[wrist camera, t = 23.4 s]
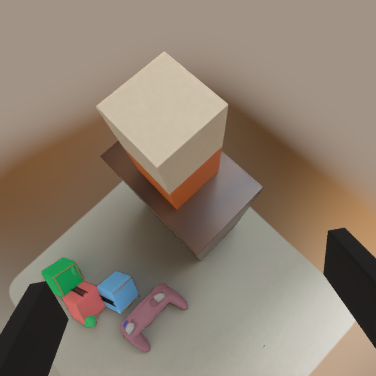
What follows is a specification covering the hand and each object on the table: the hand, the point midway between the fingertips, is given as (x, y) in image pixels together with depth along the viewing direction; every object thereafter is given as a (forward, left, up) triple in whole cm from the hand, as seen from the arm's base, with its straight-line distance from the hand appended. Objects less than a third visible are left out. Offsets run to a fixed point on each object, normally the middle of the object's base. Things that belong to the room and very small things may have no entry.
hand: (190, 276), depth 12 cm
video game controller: (+2, +10, -33) cm, 35 cm away
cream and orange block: (+7, -7, -11) cm, 15 cm away
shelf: (+7, -7, -33) cm, 35 cm away
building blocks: (+13, +12, -33) cm, 38 cm away
